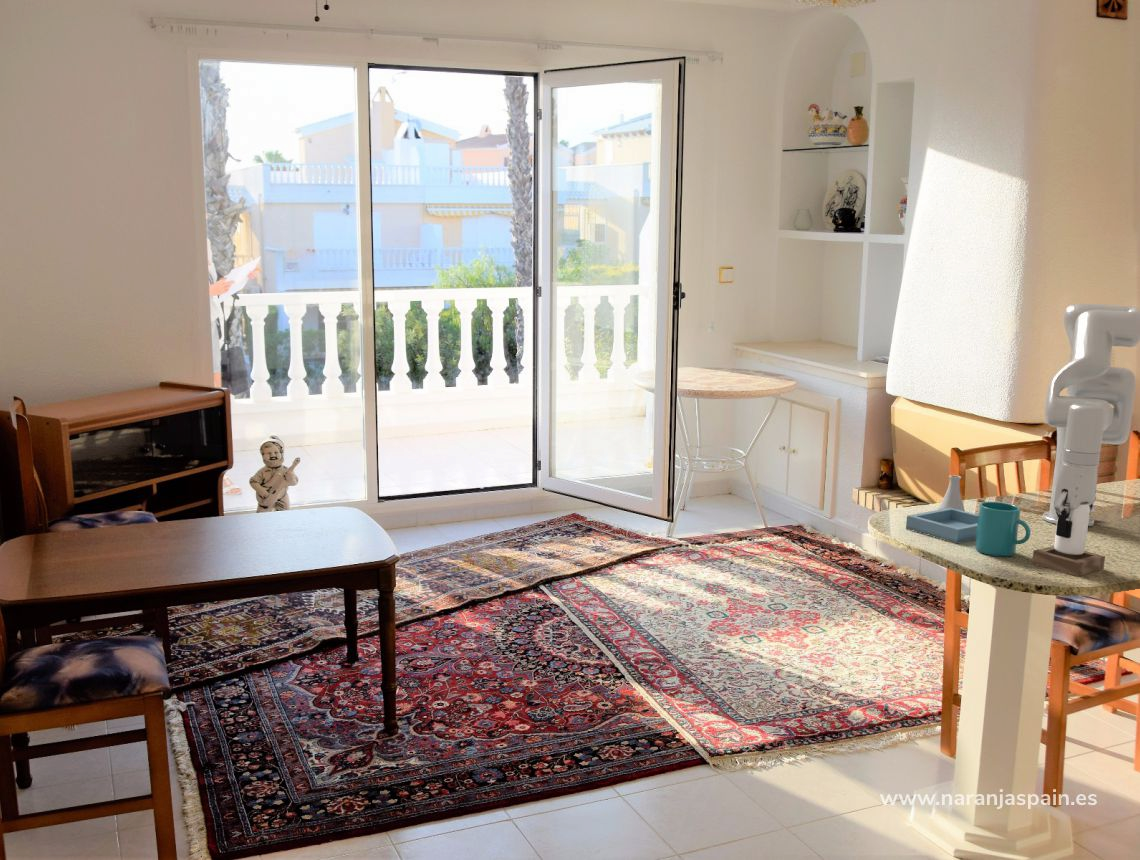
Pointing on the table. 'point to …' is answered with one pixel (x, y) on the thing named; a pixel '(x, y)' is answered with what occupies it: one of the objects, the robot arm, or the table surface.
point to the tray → (945, 524)
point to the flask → (953, 495)
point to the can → (1075, 532)
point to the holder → (1068, 561)
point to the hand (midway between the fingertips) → (1071, 533)
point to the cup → (999, 529)
